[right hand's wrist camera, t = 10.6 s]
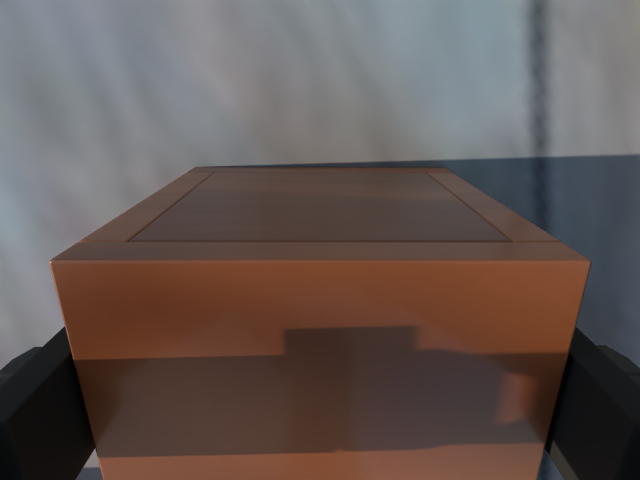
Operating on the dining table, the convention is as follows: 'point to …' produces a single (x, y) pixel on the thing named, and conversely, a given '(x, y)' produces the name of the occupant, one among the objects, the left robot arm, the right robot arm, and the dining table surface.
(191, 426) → the cabinet
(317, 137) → the dining table surface
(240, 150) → the dining table surface
